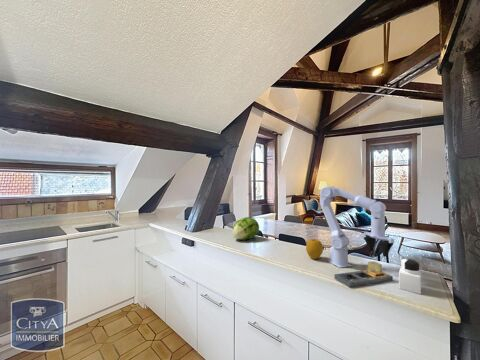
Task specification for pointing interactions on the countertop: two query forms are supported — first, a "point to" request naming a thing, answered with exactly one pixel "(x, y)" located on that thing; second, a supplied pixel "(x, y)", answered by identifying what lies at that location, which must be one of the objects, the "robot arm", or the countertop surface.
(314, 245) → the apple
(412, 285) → the medicine bottle
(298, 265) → the countertop surface
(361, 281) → the grey rectangular frame
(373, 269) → the tan rectangular block
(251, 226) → the lettuce
